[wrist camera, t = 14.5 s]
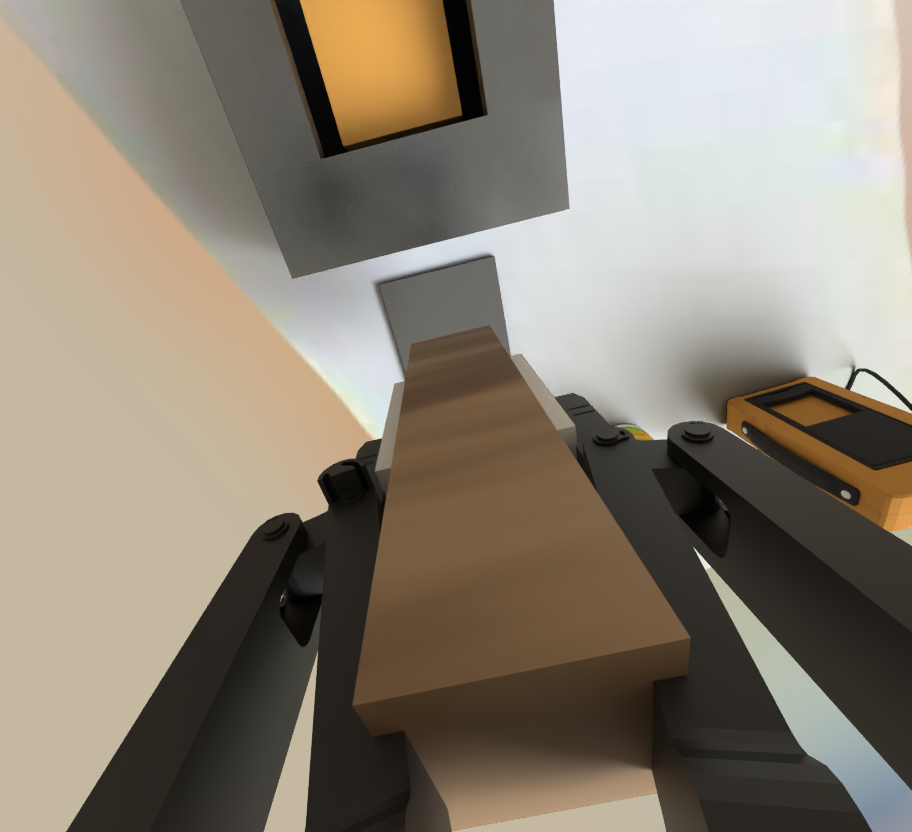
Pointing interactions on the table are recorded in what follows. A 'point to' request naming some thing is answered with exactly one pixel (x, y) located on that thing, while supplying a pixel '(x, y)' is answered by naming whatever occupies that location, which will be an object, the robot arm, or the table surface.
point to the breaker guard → (398, 161)
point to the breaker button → (384, 67)
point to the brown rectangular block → (507, 603)
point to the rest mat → (445, 304)
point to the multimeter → (835, 443)
